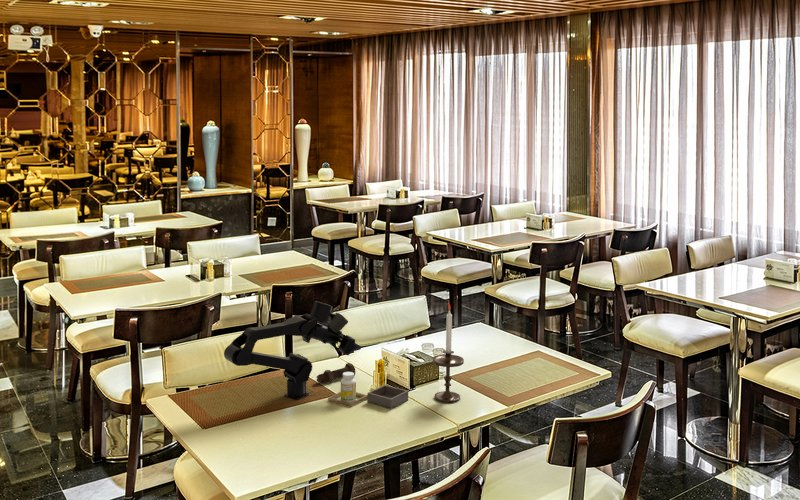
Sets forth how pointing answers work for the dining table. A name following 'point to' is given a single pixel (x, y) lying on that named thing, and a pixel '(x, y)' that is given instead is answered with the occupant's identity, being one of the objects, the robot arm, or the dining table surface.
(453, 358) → the candlestick
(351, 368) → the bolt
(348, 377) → the supplement bottle
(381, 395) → the tray
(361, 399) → the brown square frame
